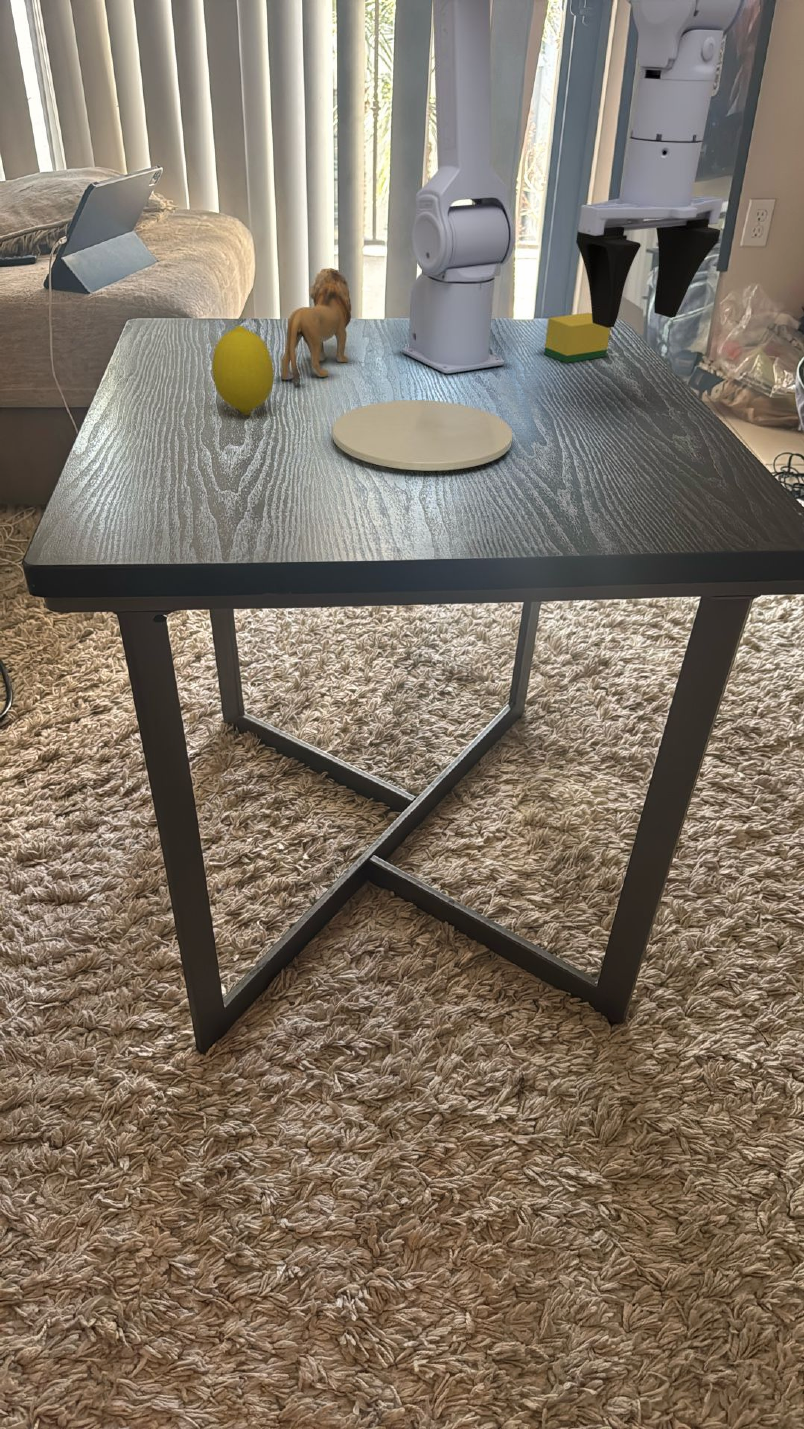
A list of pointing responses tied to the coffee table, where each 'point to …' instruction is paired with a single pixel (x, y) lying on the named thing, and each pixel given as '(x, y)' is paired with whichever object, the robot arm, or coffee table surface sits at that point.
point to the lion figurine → (319, 323)
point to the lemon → (242, 369)
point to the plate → (422, 435)
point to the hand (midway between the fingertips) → (634, 319)
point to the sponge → (576, 338)
